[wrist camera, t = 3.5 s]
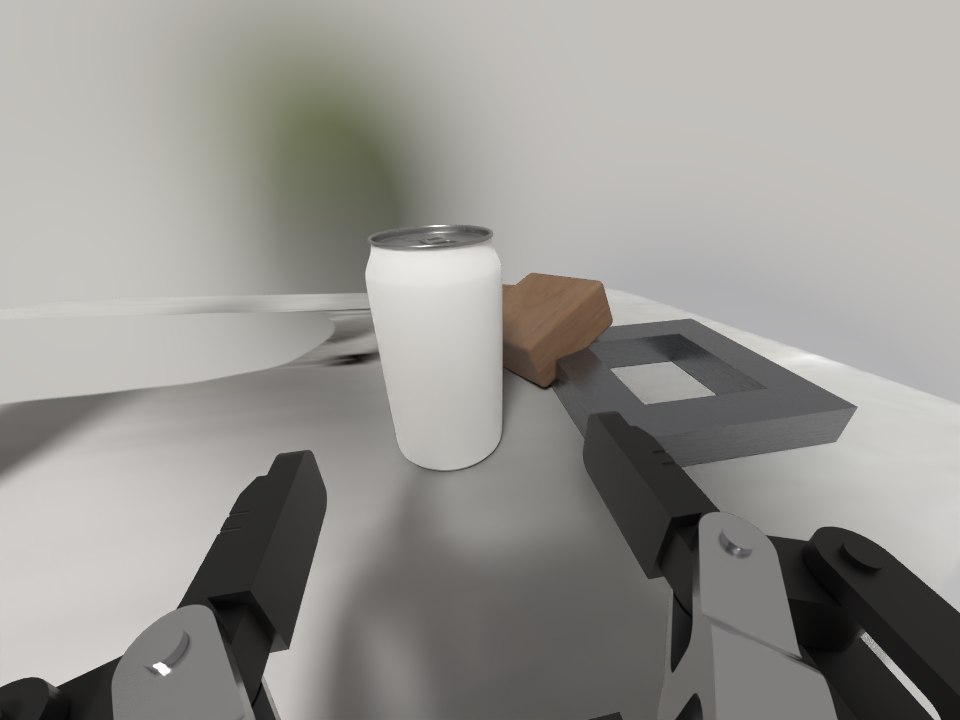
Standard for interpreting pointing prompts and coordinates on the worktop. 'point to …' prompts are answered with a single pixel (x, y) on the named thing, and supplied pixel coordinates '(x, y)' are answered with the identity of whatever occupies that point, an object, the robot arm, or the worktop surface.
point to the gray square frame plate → (706, 420)
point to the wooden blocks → (550, 322)
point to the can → (439, 340)
